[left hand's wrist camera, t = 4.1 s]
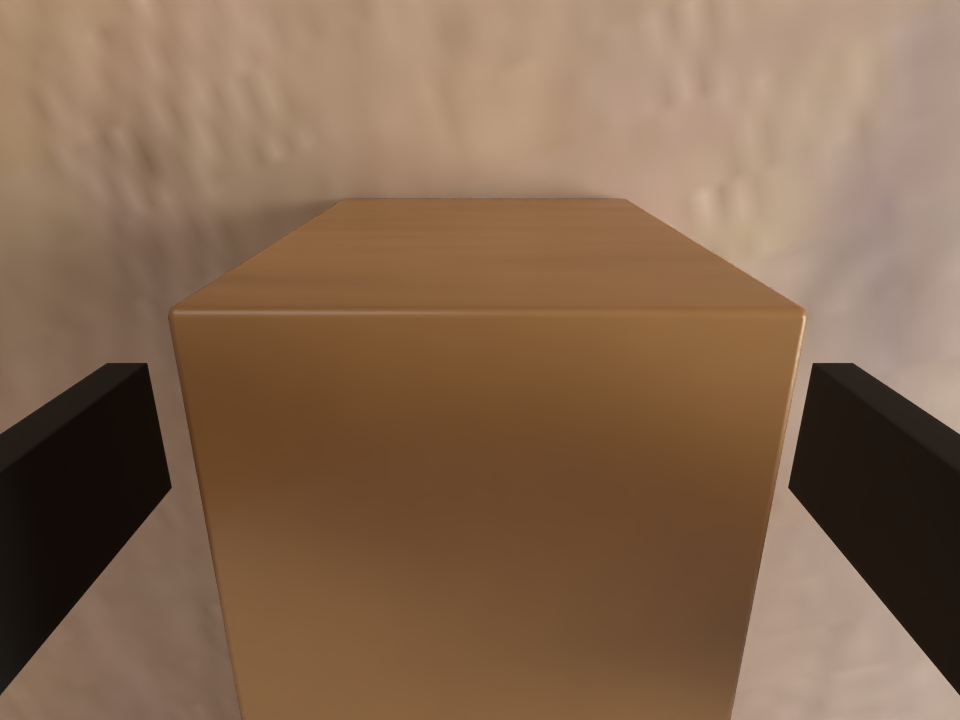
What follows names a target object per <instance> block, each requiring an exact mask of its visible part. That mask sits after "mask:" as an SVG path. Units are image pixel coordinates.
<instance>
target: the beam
mask: <svg viewBox="0 0 960 720" xmlns="http://www.w3.org/2000/svg"><path fill="white" fill-rule="evenodd" d="M168 319H169V324H170V330H171V335H172V341H173V346H174V352H175V357H176V363H177V368H178V373H179V379H180V384H181V390H182V395H183V401H184V406H185V412H186V417H187V423H188V428H189V434H190V439H191V445H192V450H193V456H194V461H195V466H196V472H197V477H198V483H199V488H200V494H201V499H202V505H203V510H204V516H205V521H206V527H207V532H208V538H209V543H210V549H211V554H212V560H213V565H214V570H215V576H216V581H217V587H218V592H219V598H220V603H221V609H222V614H223V620H224V625H225V631H226V636H227V642H228V647H229V653H230V658H231V663H232V669H233V674H234V680H235V685H236V691H237V696H238V702H239V707H240V713H241V718H242V720H730V719H731V714H732V709H733V703H734V698H735V693H736V688H737V683H738V677H739V672H740V667H741V662H742V656H743V651H744V646H745V641H746V636H747V630H748V625H749V620H750V615H751V610H752V604H753V599H754V594H755V589H756V583H757V578H758V573H759V568H760V563H761V557H762V552H763V547H764V542H765V537H766V531H767V526H768V521H769V516H770V510H771V505H772V500H773V495H774V490H775V484H776V479H777V474H778V469H779V464H780V458H781V453H782V448H783V443H784V437H785V432H786V427H787V422H788V417H789V411H790V406H791V401H792V396H793V391H794V385H795V380H796V375H797V370H798V364H799V359H800V354H801V349H802V344H803V338H804V333H805V328H806V323H807V313H806V310H805V309H804V308H802V307H801V306H799V305H797V304H796V303H794V302H793V301H791V300H789V299H788V298H786V297H784V296H783V295H781V294H779V293H778V292H776V291H775V290H773V289H771V288H770V287H768V286H766V285H765V284H763V283H762V282H760V281H758V280H757V279H755V278H753V277H752V276H750V275H749V274H747V273H745V272H744V271H742V270H740V269H739V268H737V267H736V266H734V265H732V264H731V263H729V262H727V261H726V260H724V259H723V258H721V257H719V256H718V255H716V254H714V253H713V252H711V251H709V250H708V249H706V248H705V247H703V246H701V245H700V244H698V243H696V242H695V241H693V240H692V239H690V238H688V237H687V236H685V235H683V234H682V233H680V232H679V231H677V230H675V229H674V228H672V227H670V226H669V225H667V224H666V223H664V222H662V221H661V220H659V219H657V218H656V217H654V216H652V215H651V214H649V213H648V212H646V211H644V210H643V209H641V208H639V207H638V206H636V205H635V204H633V203H631V202H630V201H628V200H626V199H344V200H342V201H340V202H338V203H337V204H335V205H334V206H332V207H331V208H329V209H327V210H326V211H324V212H323V213H321V214H319V215H318V216H316V217H315V218H313V219H312V220H310V221H308V222H307V223H305V224H304V225H302V226H300V227H299V228H297V229H296V230H294V231H293V232H291V233H289V234H288V235H286V236H285V237H283V238H281V239H280V240H278V241H277V242H275V243H274V244H272V245H270V246H269V247H267V248H266V249H264V250H262V251H261V252H259V253H258V254H256V255H254V256H253V257H251V258H250V259H248V260H247V261H245V262H243V263H242V264H240V265H239V266H237V267H235V268H234V269H232V270H231V271H229V272H228V273H226V274H224V275H223V276H221V277H220V278H218V279H216V280H215V281H213V282H212V283H210V284H209V285H207V286H205V287H204V288H202V289H201V290H199V291H197V292H196V293H194V294H193V295H191V296H190V297H188V298H186V299H185V300H183V301H182V302H180V303H178V304H177V305H175V306H174V307H172V308H171V309H170V311H169V317H168Z"/></svg>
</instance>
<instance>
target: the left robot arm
mask: <svg viewBox="0 0 960 720" xmlns="http://www.w3.org/2000/svg"><path fill="white" fill-rule="evenodd" d="M171 488H172V486H171V481H170V476H169V471H168V466H167V461H166V456H165V451H164V446H163V441H162V436H161V431H160V426H159V421H158V415H157V410H156V405H155V400H154V395H153V390H152V385H151V380H150V375H149V370H148V365H147V363H107V364H105V365H104V366H102V367H101V368H99V369H98V370H96V371H95V372H93V373H92V374H90V375H89V376H87V377H86V378H84V379H83V380H81V381H80V382H78V383H77V384H75V385H74V386H72V387H71V388H69V389H68V390H66V391H65V392H63V393H62V394H60V395H59V396H57V397H56V398H54V399H53V400H51V401H50V402H48V403H47V404H45V405H44V406H42V407H41V408H39V409H38V410H36V411H35V412H33V413H32V414H30V415H29V416H27V417H26V418H24V419H23V420H21V421H20V422H18V423H17V424H15V425H14V426H12V427H11V428H9V429H8V430H6V431H5V432H3V433H2V434H0V695H1V694H2V693H3V691H4V690H5V689H6V688H7V686H8V685H9V684H10V683H11V682H12V680H13V679H14V678H15V677H16V676H17V674H18V673H19V672H20V671H21V670H22V668H23V667H24V666H25V665H26V663H27V662H28V661H29V660H30V659H31V657H32V656H33V655H34V654H35V653H36V651H37V650H38V649H39V648H40V647H41V645H42V644H43V643H44V642H45V640H46V639H47V638H48V637H49V636H50V634H51V633H52V632H53V631H54V630H55V628H56V627H57V626H58V625H59V624H60V622H61V621H62V620H63V619H64V617H65V616H66V615H67V614H68V613H69V611H70V610H71V609H72V608H73V607H74V605H75V604H76V603H77V602H78V601H79V599H80V598H81V597H82V596H83V595H84V593H85V592H86V591H87V590H88V588H89V587H90V586H91V585H92V584H93V582H94V581H95V580H96V579H97V578H98V576H99V575H100V574H101V573H102V572H103V570H104V569H105V568H106V567H107V565H108V564H109V563H110V562H111V561H112V559H113V558H114V557H115V556H116V555H117V553H118V552H119V551H120V550H121V549H122V547H123V546H124V545H125V544H126V542H127V541H128V540H129V539H130V538H131V536H132V535H133V534H134V533H135V532H136V530H137V529H138V528H139V527H140V526H141V524H142V523H143V522H144V521H145V519H146V518H147V517H148V516H149V515H150V513H151V512H152V511H153V510H154V509H155V507H156V506H157V505H158V504H159V503H160V501H161V500H162V499H163V498H164V496H165V495H166V494H167V493H168V492H169V490H170V489H171ZM788 488H789V489H790V490H791V492H792V493H793V494H794V495H795V496H796V498H797V499H798V500H799V501H800V502H801V504H802V505H803V506H804V507H805V509H806V510H807V511H808V512H809V513H810V515H811V516H812V517H813V518H814V519H815V521H816V522H817V523H818V524H819V525H820V527H821V528H822V529H823V530H824V532H825V533H826V534H827V535H828V536H829V538H830V539H831V540H832V541H833V542H834V544H835V545H836V546H837V547H838V548H839V550H840V551H841V552H842V553H843V555H844V556H845V557H846V558H847V559H848V561H849V562H850V563H851V564H852V565H853V567H854V568H855V569H856V570H857V571H858V573H859V574H860V575H861V576H862V578H863V579H864V580H865V581H866V582H867V584H868V585H869V586H870V587H871V588H872V590H873V591H874V592H875V593H876V594H877V596H878V597H879V598H880V599H881V601H882V602H883V603H884V604H885V605H886V607H887V608H888V609H889V610H890V611H891V613H892V614H893V615H894V616H895V617H896V619H897V620H898V621H899V622H900V624H901V625H902V626H903V627H904V628H905V630H906V631H907V632H908V633H909V634H910V636H911V637H912V638H913V639H914V640H915V642H916V643H917V644H918V645H919V647H920V648H921V649H922V650H923V651H924V653H925V654H926V655H927V656H928V657H929V659H930V660H931V661H932V662H933V663H934V665H935V666H936V667H937V668H938V670H939V671H940V672H941V673H942V674H943V676H944V677H945V678H946V679H947V680H948V682H949V683H950V684H951V685H952V686H953V688H954V689H955V690H956V691H957V693H958V694H959V695H960V434H958V433H957V432H955V431H954V430H952V429H951V428H949V427H948V426H946V425H945V424H943V423H942V422H940V421H939V420H937V419H936V418H934V417H933V416H931V415H930V414H928V413H927V412H925V411H924V410H922V409H921V408H919V407H918V406H916V405H915V404H913V403H912V402H910V401H909V400H907V399H906V398H904V397H903V396H901V395H900V394H898V393H897V392H895V391H894V390H892V389H891V388H889V387H888V386H886V385H885V384H883V383H882V382H880V381H879V380H877V379H876V378H874V377H873V376H871V375H870V374H868V373H867V372H865V371H864V370H862V369H861V368H859V367H858V366H856V365H855V364H853V363H813V365H812V370H811V375H810V380H809V385H808V390H807V395H806V400H805V406H804V411H803V416H802V421H801V426H800V431H799V436H798V441H797V446H796V451H795V456H794V461H793V466H792V471H791V476H790V481H789V486H788Z"/></svg>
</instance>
